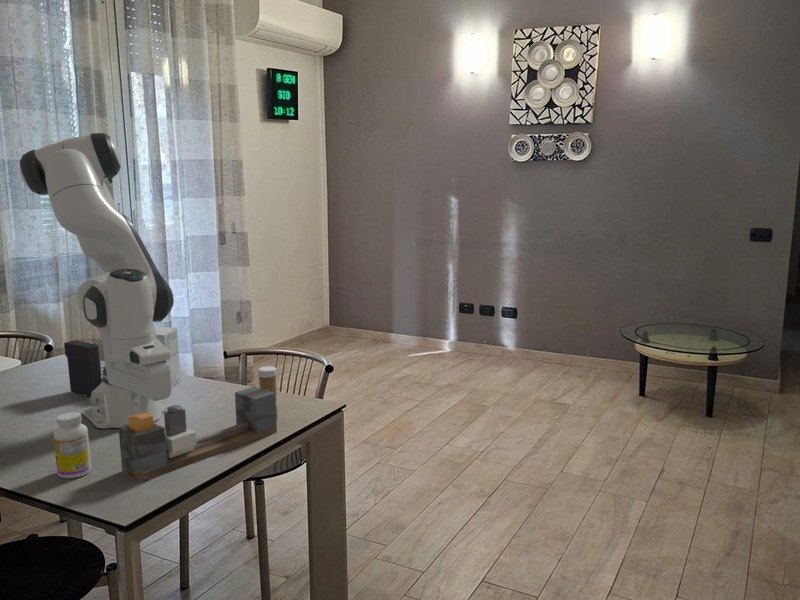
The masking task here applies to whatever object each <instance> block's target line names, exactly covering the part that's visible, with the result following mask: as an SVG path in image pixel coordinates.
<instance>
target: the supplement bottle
mask: <svg viewBox="0 0 800 600" xmlns="http://www.w3.org/2000/svg"><path fill="white" fill-rule="evenodd" d="M56 424H57V426H58V427H57V428H55V430H54V431H53V433H52V434H53V445H54V454H55V462H56V463H55V464H56V471H57V475H58V476H59V478H62V479H76V477H77V478H80V476H81V477H83V476H86V475H88V474H89V472H91V470H92V461H91V460H92V459H91V450H90V439H89V430H88V427H87V426H86V425H85V424H83V423H82V414H81V413H80V412H76V411H75V412H66V413H63V414H59V415H57V417H56Z"/></svg>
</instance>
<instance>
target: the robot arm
mask: <svg viewBox="0 0 800 600" xmlns="http://www.w3.org/2000/svg"><path fill="white" fill-rule="evenodd" d="M121 156H122V155H121V152H120V149H119V147H118V145H117V143H116V142H115V141H114V140H113V138H111V136H110V135H108V134H107V133H105V132H93V133H90V134H89V135H82V136H76V137H75V136H74V137H69V138H65V139H62V140H61V141H58V142H54V143H51V144H48V145H45V146H43V147H40V148H39V149H32V150H30V151H27V152H25V153H24V154H22V155H21V157H20V160H19V172H20V175H21V179H22V181H23V182H24V184H25V186H27V187H28V188H29V190H30V191H31V192H32V193H34V194H37V195H43V196H45V195H48V197H49V201H50V205H51V208H52V211H53V213H54V216H55V218H56V220H57V222H58V223H59V225H60V226H61V227H62V228H63V229H64V230H66V231H67V232H69V233H71V234H73V235H75V236H76V238H77V240H78V241H77V242H79V247H80V249H81V251H82V253H83V254H84V255H85V256H86V257H87V258H89V259H91V260H92V261H94V262H95V263H96V264H97V265H98V266H99V267H100V268H101V270H102V271H103V273H99V274H96V275H94V276H92V277H90V278H88V279H87V280H85V281H83V282H82V283H81V284H80V285H79V287H78V289H77V292H76V301H77V305H78V307H79V309H80V311H81V312H82V313H83V315H84V318H85V319H86V321H88V322H89V323H90V324H91V325H92V326H93V327H96V328H97V330H98V333H99V335H100V339H101V342H102V350H103V351H102V352H103V361H104V366H103V367H101V372H102V376H101V378H102V382H101V383H100V384H99V385H98V386H97V387H96V388H95V389H94V390H93V391H92V393H91V398H90V397H88V403H89V406H88V407H86V408H84V409H82V413H83V414H82V415H83V416H84V415H85V416H86V417H87V418H88V419H89V420H90V421H91V422H92V423H93V424H94V425H95V426H96V427H97V428H96V429H98V428H101V430H102V429H113V428H116V429H119V427H120V426H124V425H127V424H129V420H128V417H129V416H132V415H136V414H139V413H140V414H142V413H147V414H150V415H152V416H153V423H154V422H155V421H158V420H159V419H160V418H161V417H162V415H163V413H164V412H166V411H167V406H166V405H164V404H162V400H165V399H168V398H170V396H171V394H172V388H171V373H170V366H169V364H168V362H167V361H166V360H169V359H170V351H169V350H168V349H167V348H166V347H165V346H164V345H163V344H162V343H161V342H160V341H159V339H157V338H156V331H155V328H154V327H155V325H154V323H156V322H162V321H163V320H164V319H166V317H167V316H168V315H169V314H170V313H171V311H172V309H173V306H174V303H175V300H174V293H173V291H172V289H171V287H170V285H169V284H168V282H167V280H166V279H165V278H164V277H163V276H162V274H161V272H160V271H159V269H158V268H157V265H156V264H155V262H154V261H153V258H152V257H151V255H150V253H149V251H148V249H147V248H146V245H145V244H144V242H143V240H142V238H141V236H140V234H139V233H138V231H137V229H136V227H135V226H134V225H133V222H132V221H131V219H130V218H129V217H128V216H127V215H125V214H123V213H121V212H119V210H118V207H117V205H116V203H115V201H114V198H113V196H112V194H111V192H110V190H109V189H108V186H107V185H106V183H105V182H104V180H105V179H106V178H107V180H108V182H109V184H112V183H113V181H114V180H113V179H114V178H115V177H116V176H117V175H118V173H120V172H119V171H120V170H121V167H122V166H121V162H122V157H121ZM102 369H103V370H102ZM85 416H84V417H85ZM86 417H85V418H86ZM87 418H86V419H87ZM88 419H87V420H88ZM89 420H88V421H89ZM90 421H89V422H90ZM91 422H90V423H91ZM92 423H91V424H92ZM93 424H92V425H93ZM94 425H93V426H94ZM95 426H94V427H95Z"/></svg>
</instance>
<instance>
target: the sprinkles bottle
mask: <svg viewBox="0 0 800 600" xmlns="http://www.w3.org/2000/svg"><path fill="white" fill-rule="evenodd" d="M257 373H258V379H259V380H258V381H259V388H261V389H264V390H267V391H270V392H273V393H275V398H276V420H277V419H278V417H279V415H278V393H277V389H278V388H277V367H275V366H269V365H268V366H262V367H260V368H258V371H257Z"/></svg>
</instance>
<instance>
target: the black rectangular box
mask: <svg viewBox="0 0 800 600" xmlns="http://www.w3.org/2000/svg"><path fill="white" fill-rule="evenodd" d="M99 347H100V346H99V345H98V344H95V343H90V342H86V341H81V340H76V339H75V340H71V341H66V342H64V343H63V348H64V355H65V357H66V358H67V368H68V376H69V377H68V378H69V386H70V387H69V388H70V392H71V391H72V392H75V393H74V394H76V393H78V394H77V395H79V394H82V395H81V396H83V395H86V396H85V397H87V396H89V397H88V398H90V397H91V393H92V391H93V390H94V389H95V388H96V387H97V386H98V385H99V384H100V383H101V382H102V377H103V376H102V374H103V372H102V362H101V359H100V358H101V357H100V348H99ZM72 392H71V393H72Z"/></svg>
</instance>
